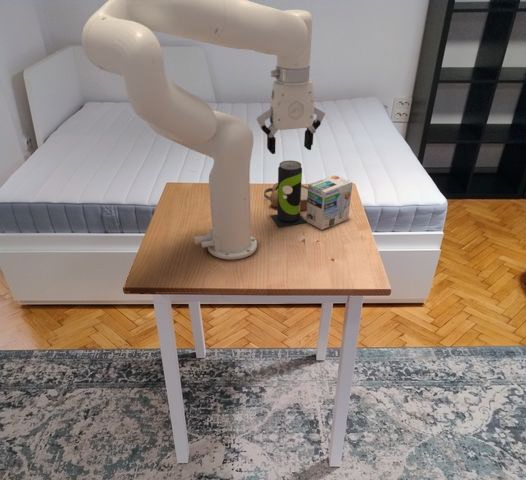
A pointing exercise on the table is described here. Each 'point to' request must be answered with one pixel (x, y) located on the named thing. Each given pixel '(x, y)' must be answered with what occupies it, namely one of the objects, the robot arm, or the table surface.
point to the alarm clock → (274, 196)
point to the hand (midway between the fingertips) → (289, 150)
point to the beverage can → (289, 190)
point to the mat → (283, 224)
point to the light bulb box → (328, 201)
